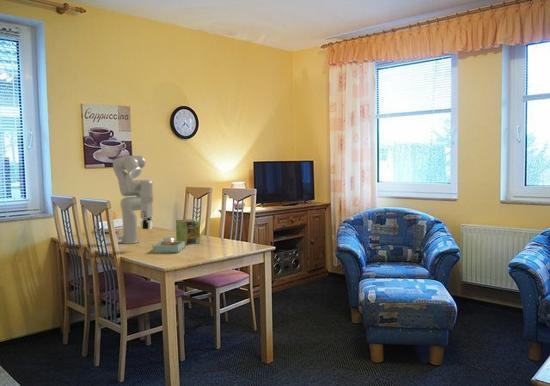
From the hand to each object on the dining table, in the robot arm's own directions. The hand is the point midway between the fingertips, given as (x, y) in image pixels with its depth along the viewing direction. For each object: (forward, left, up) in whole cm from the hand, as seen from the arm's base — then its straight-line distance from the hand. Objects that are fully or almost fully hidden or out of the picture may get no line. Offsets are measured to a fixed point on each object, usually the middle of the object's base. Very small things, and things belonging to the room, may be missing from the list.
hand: (147, 227), depth 302 cm
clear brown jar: (+15, -4, -13) cm, 20 cm away
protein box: (+20, +24, -14) cm, 34 cm away
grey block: (0, 0, -1) cm, 1 cm away
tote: (+15, -4, -14) cm, 21 cm away
